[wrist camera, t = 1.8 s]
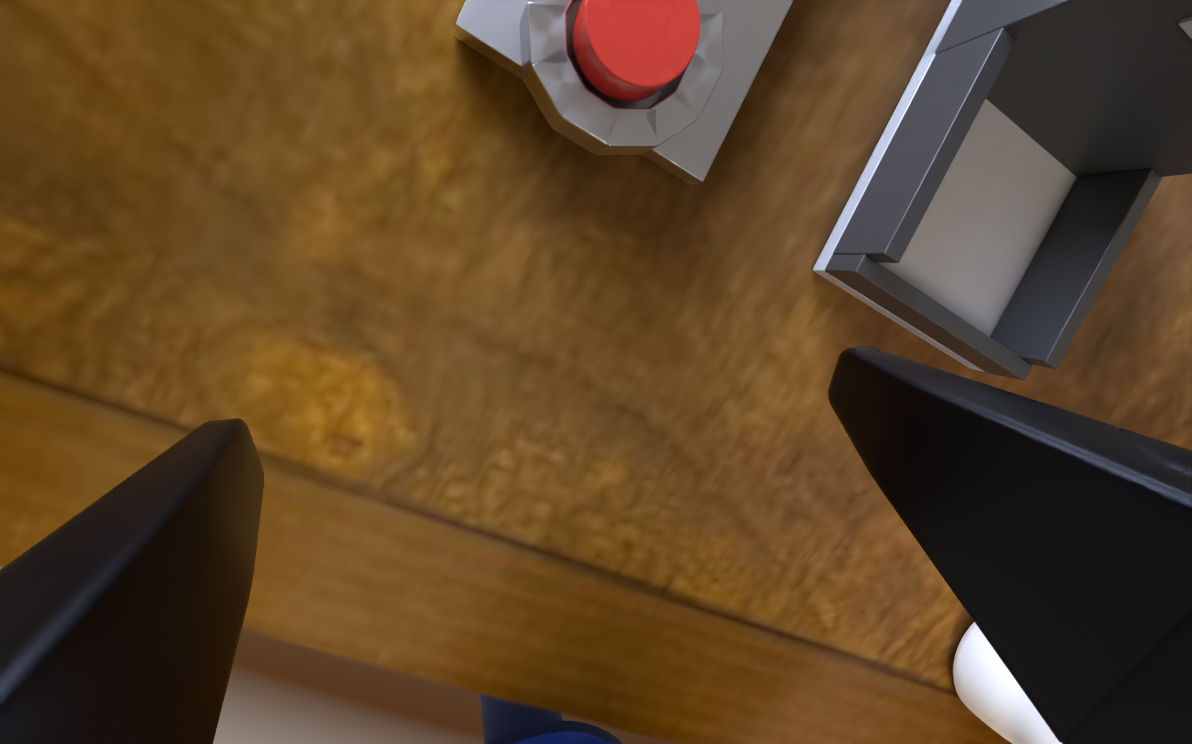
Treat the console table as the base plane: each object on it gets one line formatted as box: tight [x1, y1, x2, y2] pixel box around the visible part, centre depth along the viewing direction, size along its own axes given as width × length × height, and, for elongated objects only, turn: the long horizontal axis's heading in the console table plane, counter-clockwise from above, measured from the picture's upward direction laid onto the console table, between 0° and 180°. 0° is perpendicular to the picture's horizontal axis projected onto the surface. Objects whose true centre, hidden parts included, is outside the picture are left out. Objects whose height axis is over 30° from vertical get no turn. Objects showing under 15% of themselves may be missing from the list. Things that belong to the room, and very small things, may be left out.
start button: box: [573, 0, 700, 102], centre depth 18 cm, size 4×4×2 cm
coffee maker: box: [813, 0, 1192, 380], centre depth 19 cm, size 14×11×14 cm
